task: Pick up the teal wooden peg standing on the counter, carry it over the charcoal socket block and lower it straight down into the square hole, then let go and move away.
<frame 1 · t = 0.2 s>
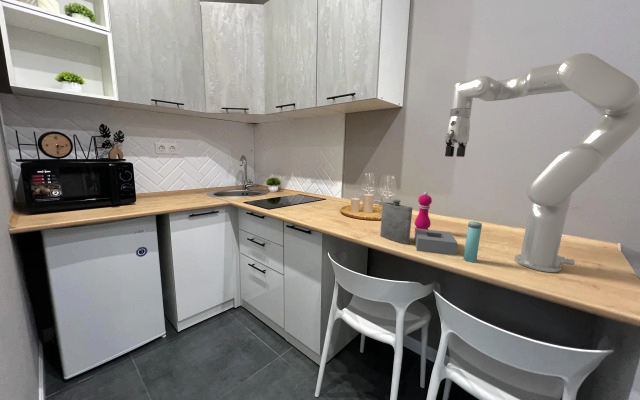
hand: (454, 156, 107), 37 cm above the worktop, tool pointing down, fingers open, 9 cm apart
peg: (469, 260, 92), on the worktop
pepper mill: (421, 232, 123), on the worktop
flask: (393, 240, 111), on the worktop
socket block: (433, 246, 104), on the worktop
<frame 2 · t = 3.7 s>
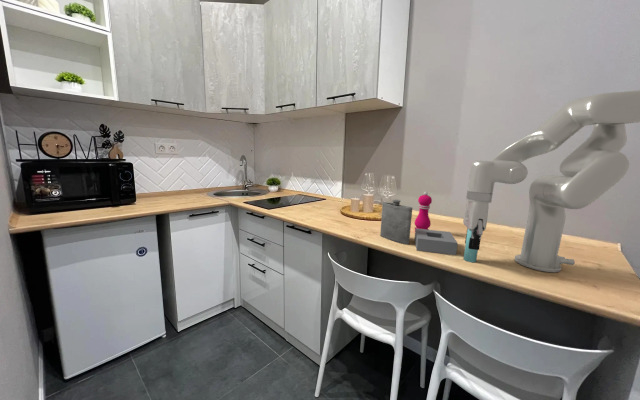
hand: (471, 246, 91), 5 cm above the worktop, tool pointing down, fingers closed on peg, 4 cm apart
peg: (469, 260, 92), on the worktop, touching gripper
everything else where it was.
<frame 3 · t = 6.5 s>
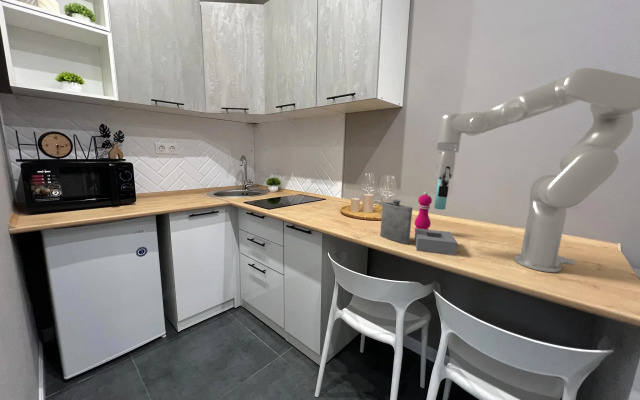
hand: (441, 195, 99), 22 cm above the worktop, tool pointing down, fingers closed on peg, 4 cm apart
peg: (439, 208, 100), point 16 cm above the worktop, touching gripper
everything else where it was.
when the fingers open (6 cm above the worktop, at t = 9.3 s): peg stays where it is, resting in socket block.
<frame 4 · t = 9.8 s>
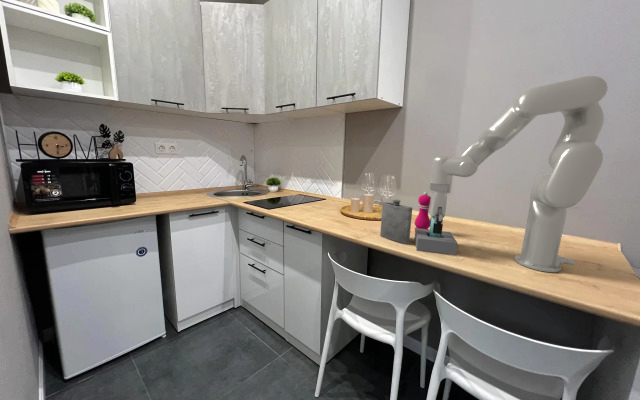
hand: (435, 229, 103), 7 cm above the worktop, tool pointing down, fingers open, 9 cm apart
peg: (433, 246, 104), resting in socket block
everything else where it was.
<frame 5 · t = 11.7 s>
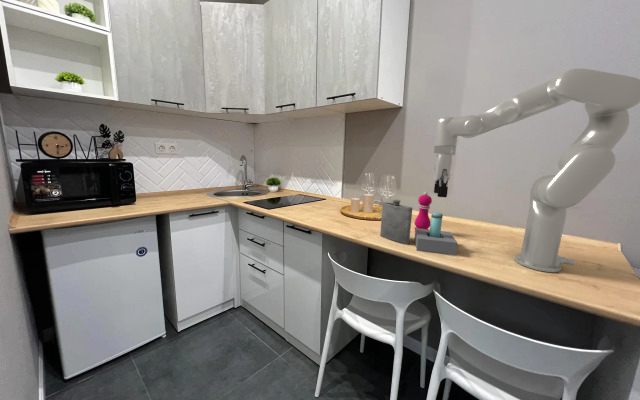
hand: (439, 195, 100), 22 cm above the worktop, tool pointing down, fingers open, 9 cm apart
nothing on the worktop moved.
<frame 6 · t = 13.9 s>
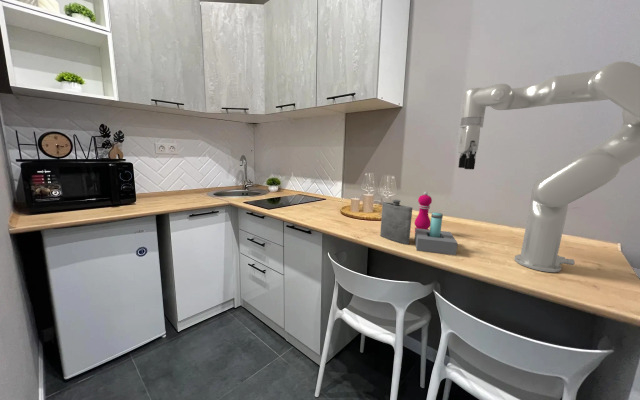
hand: (465, 168, 99), 32 cm above the worktop, tool pointing down, fingers open, 9 cm apart
nothing on the worktop moved.
at the end: peg 0.0 cm off-centre on the socket block, point 0.0 cm above the socket block's base; peg tilted 0°; the gripper is holding nothing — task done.
